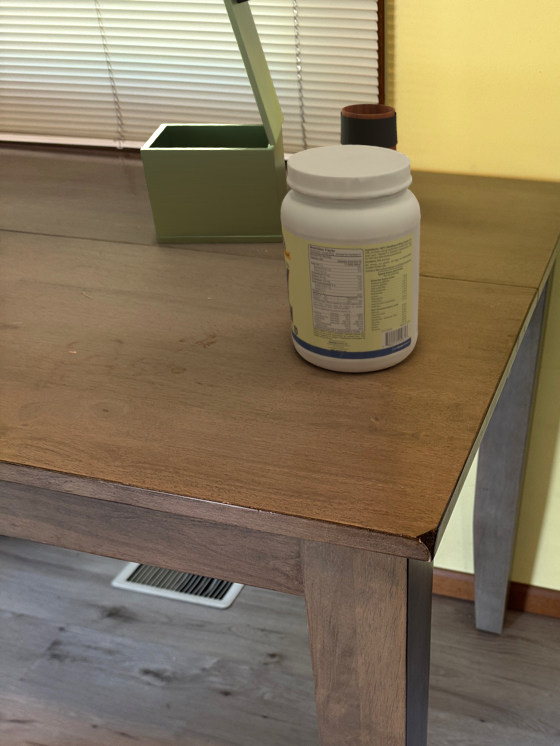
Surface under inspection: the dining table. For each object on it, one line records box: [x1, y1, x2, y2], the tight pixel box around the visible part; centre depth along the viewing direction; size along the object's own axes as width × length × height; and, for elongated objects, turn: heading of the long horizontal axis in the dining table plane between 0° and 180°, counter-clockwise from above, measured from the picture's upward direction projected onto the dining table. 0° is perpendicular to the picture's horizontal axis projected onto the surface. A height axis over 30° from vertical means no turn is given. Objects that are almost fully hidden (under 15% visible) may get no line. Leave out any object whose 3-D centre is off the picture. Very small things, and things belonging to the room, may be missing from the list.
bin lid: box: [222, 0, 285, 146], centre depth 89 cm, size 16×14×5 cm
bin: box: [139, 123, 288, 244], centre depth 97 cm, size 16×14×11 cm
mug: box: [339, 103, 399, 151], centre depth 108 cm, size 9×12×12 cm
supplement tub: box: [281, 144, 422, 373], centre depth 68 cm, size 12×12×17 cm
